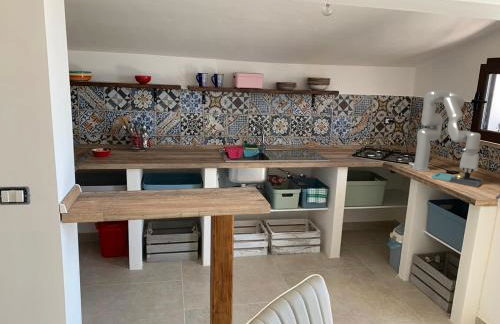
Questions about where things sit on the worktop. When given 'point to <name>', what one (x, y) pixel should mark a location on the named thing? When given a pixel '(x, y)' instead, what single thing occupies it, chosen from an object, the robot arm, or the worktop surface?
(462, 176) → the brass puck
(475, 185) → the slot plate
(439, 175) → the tray
